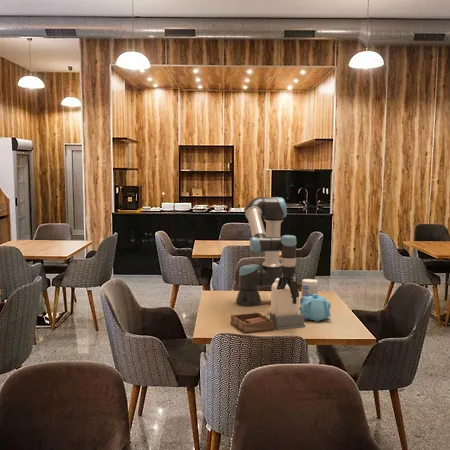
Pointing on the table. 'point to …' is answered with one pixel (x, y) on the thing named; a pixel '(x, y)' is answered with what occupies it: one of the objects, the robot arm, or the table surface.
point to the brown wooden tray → (252, 327)
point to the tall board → (285, 303)
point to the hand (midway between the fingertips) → (287, 306)
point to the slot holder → (288, 321)
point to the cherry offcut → (255, 320)
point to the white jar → (273, 294)
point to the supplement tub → (309, 287)
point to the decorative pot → (315, 307)
